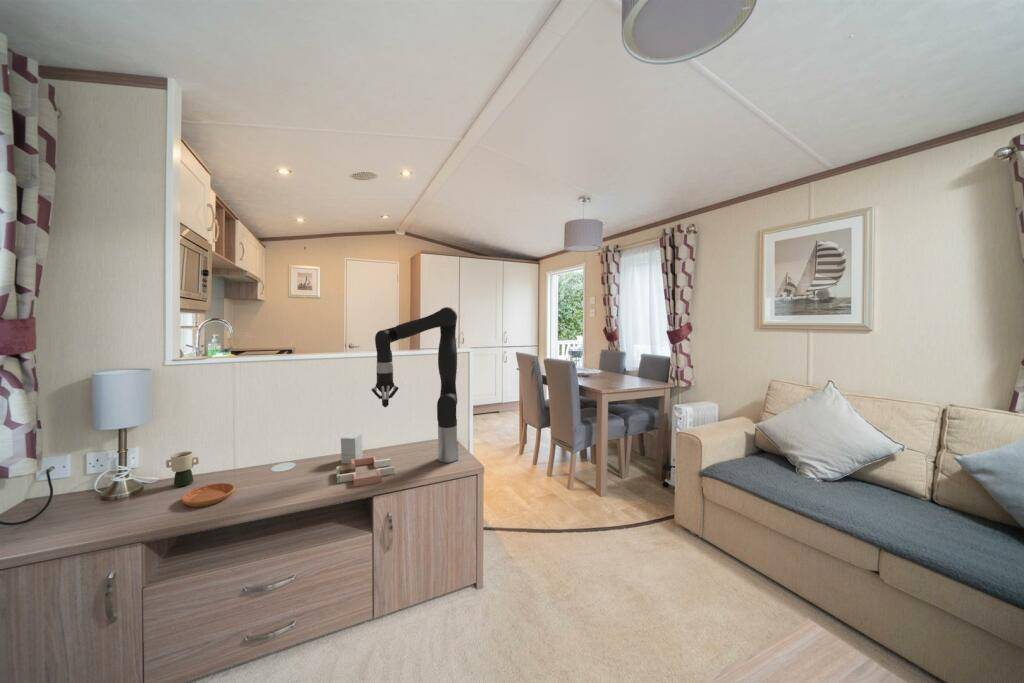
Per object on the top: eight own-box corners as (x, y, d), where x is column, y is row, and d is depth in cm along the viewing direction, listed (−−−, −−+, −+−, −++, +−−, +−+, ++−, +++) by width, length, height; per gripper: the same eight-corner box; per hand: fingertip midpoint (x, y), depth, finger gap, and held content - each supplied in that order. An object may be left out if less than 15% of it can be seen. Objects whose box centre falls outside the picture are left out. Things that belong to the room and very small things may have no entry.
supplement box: (363, 458, 190) (362, 433, 189) (355, 464, 183) (355, 438, 182) (348, 457, 191) (348, 433, 190) (340, 463, 184) (340, 437, 183)
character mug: (202, 478, 165) (201, 449, 164) (197, 485, 159) (195, 455, 158) (170, 483, 161) (169, 453, 160) (163, 490, 154) (161, 459, 154)
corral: (389, 459, 189) (388, 453, 188) (396, 479, 167) (396, 472, 167) (336, 467, 178) (336, 461, 178) (337, 489, 157) (337, 482, 156)
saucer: (242, 488, 157) (241, 481, 157) (221, 507, 142) (221, 499, 142) (197, 491, 154) (197, 484, 154) (171, 511, 139) (171, 503, 138)
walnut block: (354, 473, 173) (354, 463, 173) (355, 478, 168) (355, 468, 168) (339, 475, 171) (339, 465, 170) (340, 480, 165) (340, 470, 165)
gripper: (397, 369, 190) (398, 403, 191) (369, 371, 184) (370, 406, 186) (400, 371, 183) (400, 407, 185) (370, 373, 178) (371, 410, 179)
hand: (385, 406), depth 185 cm, fingers closed
